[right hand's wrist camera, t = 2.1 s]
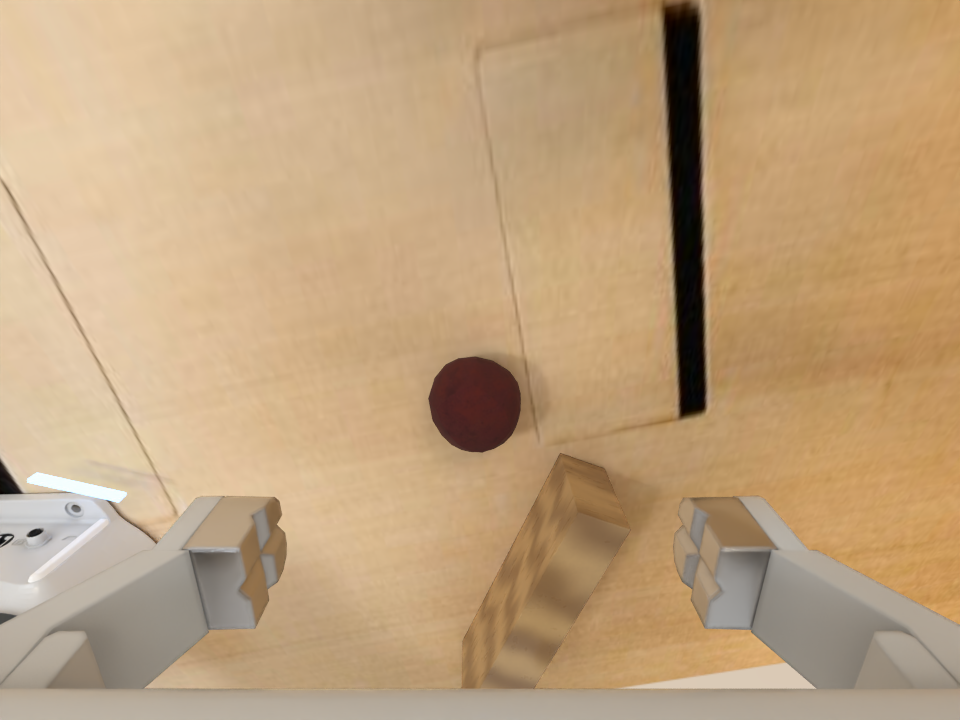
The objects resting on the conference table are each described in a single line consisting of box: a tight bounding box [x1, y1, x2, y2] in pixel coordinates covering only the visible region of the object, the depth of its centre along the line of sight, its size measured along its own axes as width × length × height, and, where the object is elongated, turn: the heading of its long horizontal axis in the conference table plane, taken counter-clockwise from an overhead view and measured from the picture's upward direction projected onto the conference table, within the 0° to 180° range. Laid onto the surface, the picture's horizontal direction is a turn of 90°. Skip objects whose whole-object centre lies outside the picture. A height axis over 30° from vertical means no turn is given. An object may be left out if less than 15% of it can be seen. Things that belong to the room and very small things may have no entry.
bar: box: [462, 453, 631, 689], centre depth 48 cm, size 25×5×9 cm, turn 158°
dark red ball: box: [428, 357, 521, 452], centre depth 42 cm, size 7×8×7 cm
